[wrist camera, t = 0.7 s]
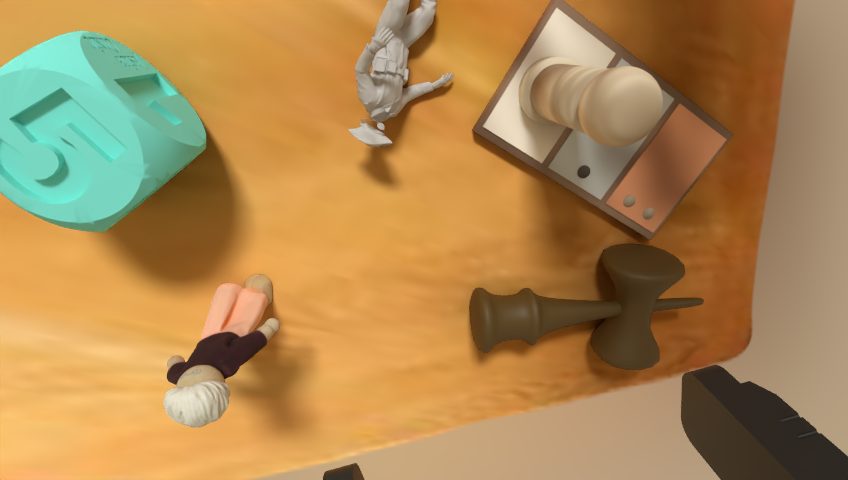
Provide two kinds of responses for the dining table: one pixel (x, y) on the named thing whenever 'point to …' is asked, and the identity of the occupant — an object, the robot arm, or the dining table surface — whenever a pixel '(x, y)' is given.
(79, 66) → the decorative dice
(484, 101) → the dining table surface
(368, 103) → the soldier figure
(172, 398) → the grandmother figurine
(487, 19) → the dining table surface
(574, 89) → the pawn
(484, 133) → the board
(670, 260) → the kendama
